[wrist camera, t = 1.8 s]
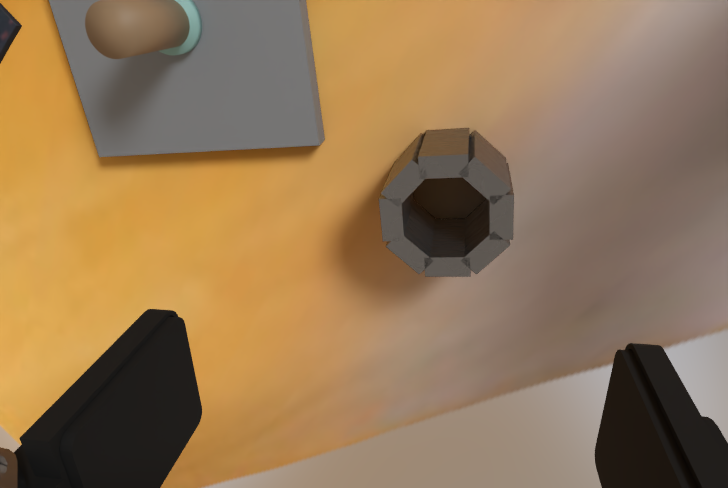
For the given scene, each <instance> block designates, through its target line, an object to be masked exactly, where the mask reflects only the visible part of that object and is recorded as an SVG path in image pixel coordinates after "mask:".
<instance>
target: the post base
mask: <svg viewBox="0 0 728 488" xmlns="http://www.w3.org/2000/svg"><path fill="white" fill-rule="evenodd" d="M49 3H50V6H51V9H52V12H53V15H54V18H55V21H56V24H57V27H58V31H59V34H60V37H61V40H62V43H63V46H64V49H65V52H66V55H67V58H68V62H69V65H70V68H71V71H72V74H73V77H74V80H75V83H76V86H77V90H78V93H79V96H80V99H81V102H82V105H83V108H84V111H85V114H86V117H87V121H88V124H89V127H90V130H91V133H92V136H93V139H94V142H95V145H96V148H97V152H98V155H99V157H111V156H129V155H148V154H167V153H186V152H204V151H223V150H242V149H260V148H279V147H298V146H316V145H320V144H321V143H322V142H323V141H324V140H325V138H324V130H323V123H322V116H321V108H320V101H319V93H318V86H317V79H316V71H315V64H314V56H313V49H312V42H311V34H310V27H309V19H308V12H307V5H306V0H49Z"/></svg>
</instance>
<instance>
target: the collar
mask: <svg viewBox="0 0 728 488" xmlns="http://www.w3.org/2000/svg"><path fill="white" fill-rule="evenodd" d="M461 177H463V178H464V179H465V180H466V181H467V182H468V183H469V184H471V185H472V186H473V187H474V188H475V189H476V190H477V191H479V192H480V193H481V194H482V195H483V196H484V197H485V198H486V200H485V201H484V202H483V203H482V204H481V205H479V206H478V207H477V208H476V209H475V210H474V211H473V212H472V213H471V214H470V215H469V216H468V217H467V218H458V219H435V218H434V217H433V216H432V215H431V214H430V213H428V212H427V211H426V210H425V209H424V208H423V207H421V206H420V205H419V204H418V203H417V202H416V201H414V193H413V191H414V190H415V189H416V188H417V187H418V186H419V185H420V184H421V183H422V182H423V181H424V180H425V179H434V178H461ZM379 206H380V217H381V227H382V237H383V241H387V244H386V247H387V248H388V249H389V250H391V251H392V252H393V253H394V254H395V255H397V256H398V257H399V258H400V259H401V260H403V261H404V262H405V263H406V264H407V265H409V266H410V267H411V268H412V269H413V270H415V271H416V272H417V273H418V274H420V273H421V272H423V271H424V270H425V277H471V270H472V271H473V272H474V273H475V274H478V273H479V272H480V271H481V270H482V269H483V268H485V267H486V266H487V265H488V264H489V263H490V262H491V261H493V260H494V259H495V258H496V257H497V256H498V255H499V254H501V253H502V252H503V251H504V250H505V249H506V248H508V247H509V246H510V240H513V211H514V193H513V188H512V182H511V177H510V172H509V166H508V163H506V158H505V157H504V156H503V155H502V154H501V153H500V152H499V151H498V150H497V149H495V148H494V147H493V146H492V145H491V144H490V143H489V142H488V141H487V140H485V139H484V138H483V137H482V136H481V135H480V134H479V133H478V132H477V131H475V130H474V131H473V132H472V133H471V134H470V136H469V128H460V129H443V130H427V131H426V134H425V136H424V135H423V134H422V133H421V134H420V135H419V136H418V137H417V138H416V139H415V140H414V142H413V143H412V144H411V145H410V146H409V147H408V148H407V149H406V150H405V152H404V153H403V154H402V155H401V156H400V157H399V158H398V159H397V160H396V161H395V163H394V165H393V167H392V169H391V171H390V174H389V176H388V178H387V180H386V183H385V185H384V187H383V189H382V192H381V195H380V197H379Z"/></svg>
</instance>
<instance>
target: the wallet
mask: <svg viewBox="0 0 728 488" xmlns="http://www.w3.org/2000/svg"><path fill="white" fill-rule="evenodd" d="M21 27H22V25H21V24H20V23H19V22H18V21H17V20H16V19H15V18H14V17H13V16H12V15H11V14H10V13H9V12H8V11H7V10H6V9H5V8H4V6H3V5H2V4H1V3H0V63H1V61H2V60H3V58H4V56H5V54H6V52H7V50H8V49H9V47H10V45H11V43H12V42H13V40H14V38H15V37H16V35H17V33H18V32H19V30H20V28H21Z"/></svg>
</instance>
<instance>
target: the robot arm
mask: <svg viewBox="0 0 728 488" xmlns="http://www.w3.org/2000/svg"><path fill="white" fill-rule="evenodd" d="M201 415H202V406H201V401H200V396H199V391H198V386H197V382H196V377H195V372H194V367H193V362H192V357H191V352H190V347H189V342H188V337H187V332H186V327H185V323H184V320H183V319H182V318H180V317H178V315H177V314H176V312H174V311H171V310H157V309H149V310H147V311H145V312H144V313H143V314H142V315H141V316H140V317H139V318H138V319H137V320H136V321H135V322H134V323H133V324H132V325H131V326H130V327H129V328H128V329H127V330H126V331H125V332H124V333H123V334H122V335H121V336H120V337H119V338H118V339H117V340H116V341H115V343H114V344H113V345H112V346H111V347H110V348H109V349H108V350H107V351H106V352H105V353H104V354H103V355H102V356H101V357H100V358H99V359H98V360H97V361H96V362H95V363H94V364H93V365H92V366H91V367H90V368H89V369H88V370H87V371H86V372H85V373H84V374H83V375H82V376H81V377H80V378H79V379H78V380H77V381H76V382H75V383H74V384H73V385H72V386H71V387H70V388H69V389H68V390H67V391H66V392H65V393H64V394H63V395H62V396H61V397H60V398H59V399H58V400H57V401H56V402H55V403H54V404H53V405H52V406H51V407H50V408H49V409H48V410H47V411H46V412H45V413H44V414H43V415H42V416H41V417H40V418H39V419H38V420H37V421H36V422H35V423H34V424H33V425H32V426H31V427H30V428H29V429H28V430H27V431H26V432H25V433H24V434H23V435H22V436H21V437H20V441H21V443H22V445H21V446H20V447H19V448H18V449H17V450H16V451H15V452H14V453H13V452H12V451H10V450H9V449H4V448H0V488H160V487H161V485H162V484H163V482H164V480H165V479H166V477H167V475H168V474H169V472H170V471H171V469H172V467H173V466H174V464H175V462H176V461H177V459H178V457H179V456H180V454H181V452H182V451H183V449H184V448H185V446H186V444H187V443H188V441H189V439H190V438H191V436H192V434H193V433H194V431H195V430H196V428H197V426H198V424H199V422H200V419H201ZM595 463H596V468H597V472H598V475H599V479H600V483H601V486H602V488H728V443H727V441H726V440H725V438H724V436H723V435H722V433H721V431H720V430H719V428H718V426H717V425H716V424H715V422H714V421H713V420H712V419H710V418H708V417H702V416H701V415H700V413H699V411H698V410H697V408H696V406H695V404H694V403H693V401H692V399H691V397H690V395H689V394H688V392H687V390H686V388H685V387H684V385H683V383H682V381H681V380H680V378H679V376H678V374H677V372H676V371H675V369H674V367H673V365H672V363H671V362H670V360H669V358H668V356H667V355H666V353H665V351H664V349H663V348H662V347H661V346H659V345H647V344H633V343H630V344H628V345H627V346H626V349H625V350H617V352H616V354H615V358H614V363H613V368H612V372H611V377H610V382H609V387H608V391H607V396H606V401H605V405H604V410H603V415H602V419H601V424H600V428H599V433H598V438H597V443H596V448H595Z"/></svg>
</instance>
